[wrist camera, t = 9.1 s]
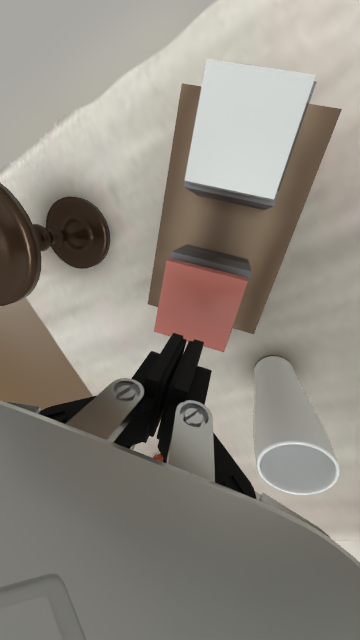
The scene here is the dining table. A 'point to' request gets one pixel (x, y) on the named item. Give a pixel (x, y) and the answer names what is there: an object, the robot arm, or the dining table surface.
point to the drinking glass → (289, 432)
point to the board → (237, 211)
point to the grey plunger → (246, 127)
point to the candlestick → (46, 241)
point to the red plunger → (199, 303)
